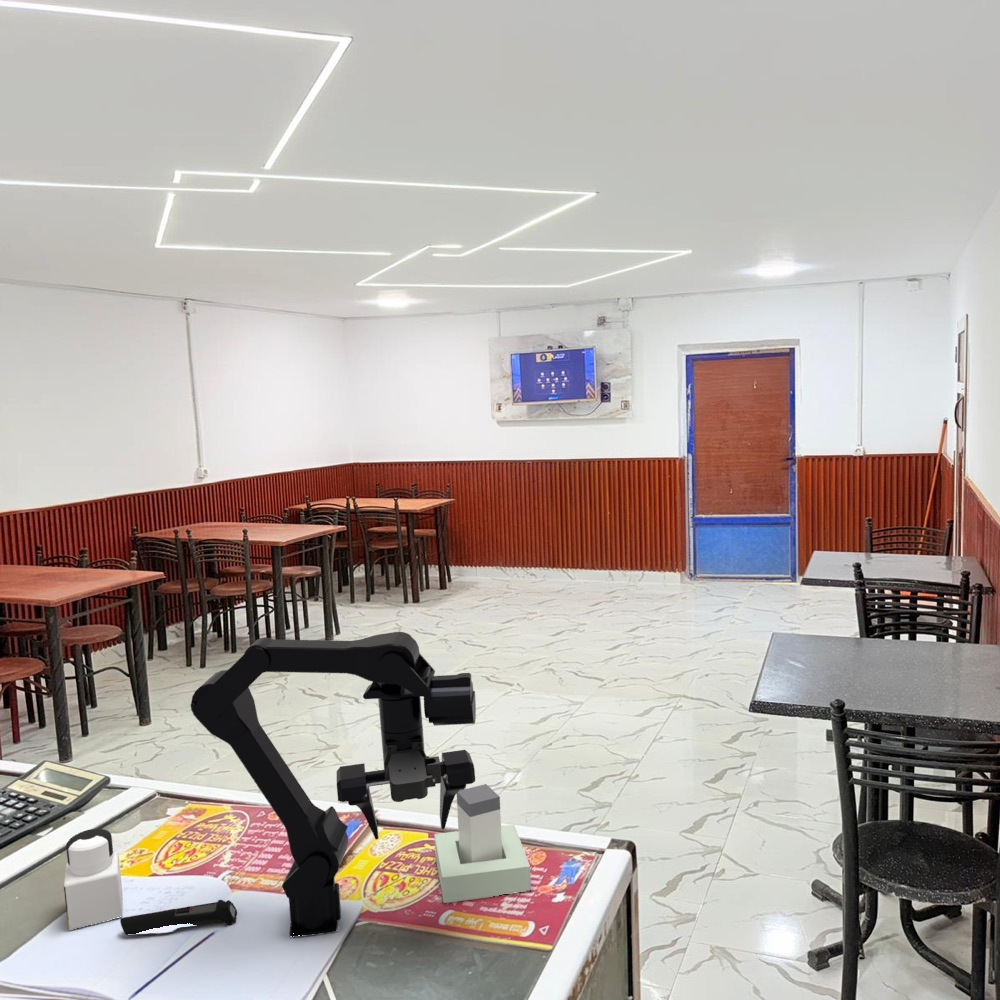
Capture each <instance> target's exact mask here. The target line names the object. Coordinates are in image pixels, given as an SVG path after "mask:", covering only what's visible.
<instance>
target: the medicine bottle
mask: <svg viewBox="0 0 1000 1000" xmlns="http://www.w3.org/2000/svg"><path fill="white" fill-rule="evenodd" d="M65 848H66V859H67V862H66V864H65V871H64V872H65V873H64V882H63V892H64V900H65V909H66V918H67V927H68V930H69V931H74V929H75V930H78V929H77V928H79V929H82V928H81V927H83V928H86V927H85V926H87V927H89V926H88V925H91V924H95V923H99V922H103V921H107V920H110V919H113V918H117V917H120V916H122V917H123V915H124V914H123V910H124V909H123V904H124V903H123V885H122V875H121V865H120V856H119V852H118V851H117V850H115V851H114V847H113V837H112V833H111V832H110V831H109V830H107V829H104V828H91V829H86V830H84V831H81V832H78V833H76V834H74V835H73V836H72V837H71V838H69V839H68V841H67V842H66V844H65ZM107 922H108V921H107ZM103 923H104V922H103ZM99 924H100V923H99ZM95 925H96V924H95ZM91 926H92V925H91Z"/></svg>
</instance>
